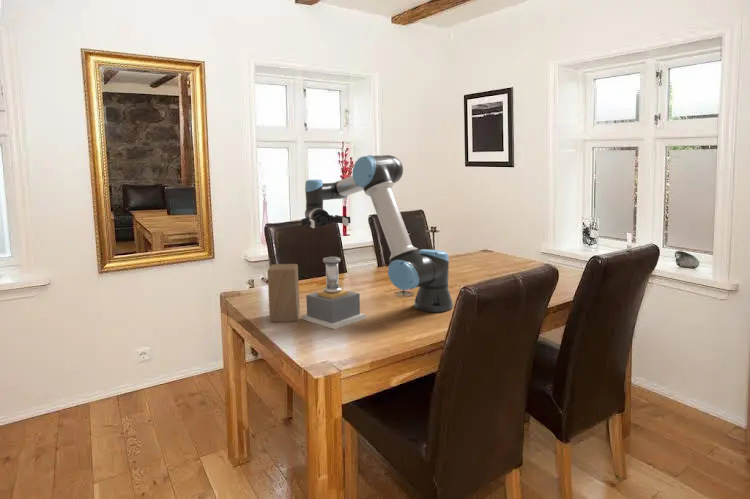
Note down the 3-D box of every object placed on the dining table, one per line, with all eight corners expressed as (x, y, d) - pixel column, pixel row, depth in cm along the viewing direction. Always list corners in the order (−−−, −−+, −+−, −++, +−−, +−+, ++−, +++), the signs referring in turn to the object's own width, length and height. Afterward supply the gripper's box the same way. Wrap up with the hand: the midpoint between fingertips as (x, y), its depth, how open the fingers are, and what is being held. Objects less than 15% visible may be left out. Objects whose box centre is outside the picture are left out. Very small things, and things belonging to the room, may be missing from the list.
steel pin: (345, 311, 199) (344, 258, 195) (333, 315, 194) (331, 260, 190) (333, 308, 203) (332, 256, 199) (321, 312, 198) (319, 258, 195)
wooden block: (300, 313, 206) (297, 263, 202) (297, 321, 196) (294, 269, 193) (274, 314, 206) (271, 264, 202) (270, 322, 196) (267, 269, 192)
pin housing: (365, 318, 199) (365, 291, 197) (334, 329, 187) (333, 300, 185) (332, 309, 211) (331, 283, 209) (301, 319, 199) (300, 292, 197)
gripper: (347, 224, 232) (361, 231, 212) (290, 227, 225) (299, 235, 205) (347, 207, 231) (360, 212, 211) (290, 210, 223) (298, 215, 203)
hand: (330, 223), depth 208 cm, fingers open, 13 cm apart
